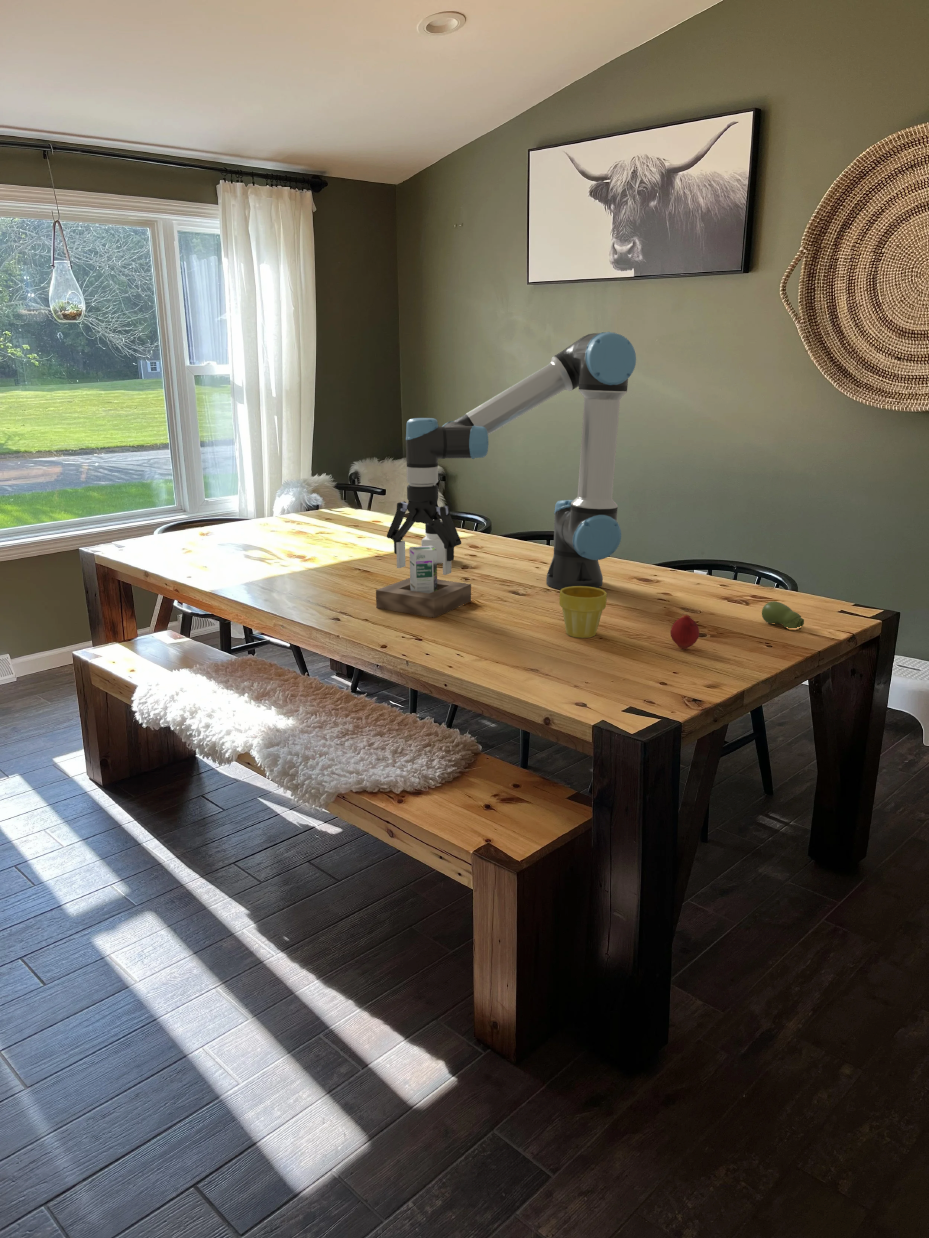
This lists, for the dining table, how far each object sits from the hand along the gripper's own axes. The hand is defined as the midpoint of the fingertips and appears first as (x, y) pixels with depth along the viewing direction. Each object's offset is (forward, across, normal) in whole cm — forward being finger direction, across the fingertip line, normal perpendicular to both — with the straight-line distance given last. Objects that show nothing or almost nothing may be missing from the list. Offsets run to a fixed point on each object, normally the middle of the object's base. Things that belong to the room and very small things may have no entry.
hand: (423, 570), depth 220 cm
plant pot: (+9, -44, +2) cm, 44 cm away
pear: (+9, -80, -27) cm, 85 cm away
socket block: (+9, 0, 0) cm, 9 cm away
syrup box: (+9, 0, 0) cm, 9 cm away
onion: (+9, -66, +1) cm, 67 cm away
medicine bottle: (+9, +24, -43) cm, 50 cm away
